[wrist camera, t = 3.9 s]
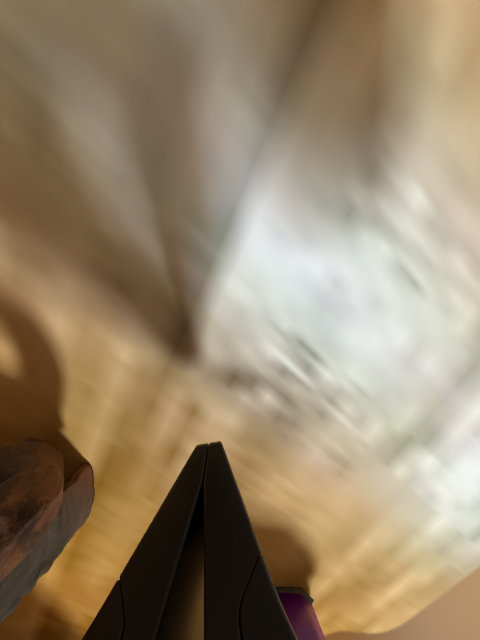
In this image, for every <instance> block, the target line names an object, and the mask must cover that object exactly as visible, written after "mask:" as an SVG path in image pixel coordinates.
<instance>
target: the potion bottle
mask: <svg viewBox="0 0 480 640" xmlns="http://www.w3.org/2000/svg"><path fill="white" fill-rule="evenodd" d="M275 589H276V591H277V594H278V596H279V599H280V601H281V604H282V606H283V608H284V611H285V613H286V615H287V617H288V620H289V622H290V624H291V626H292V628H293V631H294V633H295V635H296V637H297V639H298V640H325V638H324V635H323V632H322V630H321V627H320V625H319V622H318V619H317V617H316V614H315V612H314V609H313V606H312V603H313V601H314V600H313V599H312V598H311V597H310V596H309V595H308V594H307V593H306V592H305V591H304V590H302V589H301V588H284V587H275Z"/></svg>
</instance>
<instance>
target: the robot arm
mask: <svg viewBox="0 0 480 640" xmlns="http://www.w3.org/2000/svg"><path fill="white" fill-rule="evenodd" d="M82 640H298V639H297V637H296V635H295V633H294V631H293V628H292V626H291V624H290V622H289V620H288V617H287V615H286V613H285V611H284V608H283V606H282V604H281V601H280V599H279V596H278V594H277V591H276V589H275V586H274V584H273V581H272V579H271V576H270V573H269V571H268V568H267V565H266V562H265V560H264V557H263V555H262V552H261V549H260V546H259V544H258V541H257V538H256V535H255V533H254V530H253V527H252V524H251V522H250V519H249V516H248V514H247V511H246V508H245V505H244V503H243V500H242V497H241V494H240V492H239V489H238V486H237V483H236V481H235V478H234V475H233V472H232V470H231V467H230V464H229V461H228V459H227V456H226V453H225V450H224V448H223V445H222V443H221V442H220V441H218V442H212V443H210V444H201V445H197V446H196V447H195V449H194V451H193V452H192V454H191V456H190V457H189V459H188V461H187V463H186V464H185V466H184V468H183V469H182V471H181V473H180V475H179V476H178V478H177V480H176V481H175V483H174V485H173V486H172V488H171V490H170V492H169V493H168V495H167V497H166V498H165V500H164V502H163V504H162V505H161V507H160V509H159V510H158V512H157V514H156V516H155V517H154V519H153V521H152V522H151V524H150V526H149V527H148V529H147V531H146V533H145V534H144V536H143V538H142V539H141V541H140V543H139V545H138V546H137V548H136V550H135V551H134V553H133V555H132V557H131V558H130V560H129V562H128V563H127V565H126V567H125V568H124V570H123V572H122V574H121V575H120V580H118V581H117V582H116V584H115V585H114V587H113V589H112V590H111V592H110V594H109V596H108V597H107V599H106V601H105V602H104V604H103V606H102V607H101V609H100V611H99V612H98V614H97V616H96V617H95V619H94V620H93V622H92V624H91V625H90V627H89V629H88V630H87V632H86V634H85V635H84V637H83V639H82Z"/></svg>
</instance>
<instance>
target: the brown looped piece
mask: <svg viewBox="0 0 480 640" xmlns="http://www.w3.org/2000/svg"><path fill="white" fill-rule="evenodd" d="M94 494H95V491H94V480H93V474H92V469H91V466H90V465H89V464H84V465H82V466H81V467H79V468H78V470H77V471H76V472H75V473H74V475H73V476H72V477H71V478H70V479H69V481H68V482H67V483H66V484H65V485H64V459H63V455H62V453H61V452H60V451H58V450H57V449H56V448H55V447H53V446H51V445H49V444H47V443H45V442H43V441H41V440H39V439H35V438H33V437H27V438H25V439H23V440H22V441H21V442H19V443H18V444H16V445H13V446H9V447H6V448H4V449H2V450H1V451H0V625H1V623H2V621H3V620H4V619H5V618H6V617H8V616H9V615H11V614H12V613H14V611H15V610H16V609H17V607H18V605H19V603H20V601H21V599H22V597H24V596H25V595H27V594H28V593H30V592H31V591H32V589H33V588H34V587H35V585H36V582H37V580H38V579H39V578H40V577H41V576H42V575H44V574H45V573H47V572H48V571H49V569H50V568H51V566H52V564H53V562H54V560H55V559H56V558H57V557H58V556H59V555H60V554H61V552H62V551H63V549H64V547H65V546H66V544H67V543H68V542H69V540H70V539H71V538H72V537H73V535H74V534H75V532H76V531H77V530H78V529H79V528H80V527H81V526H82V525H83V524H84V523H85V521H86V519H87V518H88V516H89V514H90V511H91V507H92V504H93V501H94Z"/></svg>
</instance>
